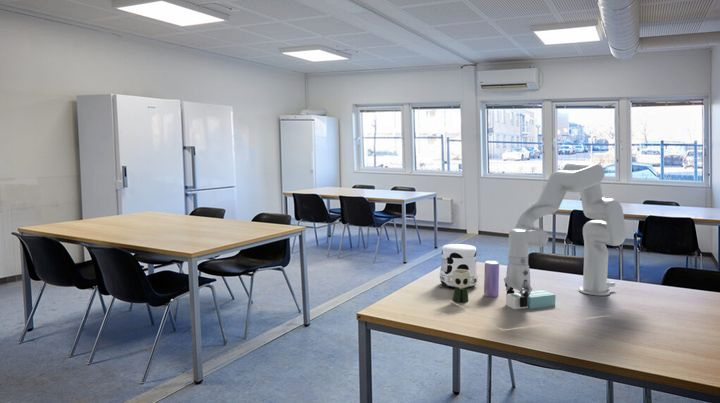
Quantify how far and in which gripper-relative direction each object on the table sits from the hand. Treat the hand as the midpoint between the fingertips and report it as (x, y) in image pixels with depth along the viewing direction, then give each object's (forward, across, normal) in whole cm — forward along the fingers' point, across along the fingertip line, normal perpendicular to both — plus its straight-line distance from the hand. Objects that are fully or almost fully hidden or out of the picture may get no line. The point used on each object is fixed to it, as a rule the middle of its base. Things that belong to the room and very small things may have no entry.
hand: (516, 303), depth 213 cm
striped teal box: (+1, 0, -9) cm, 9 cm away
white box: (+1, 0, 0) cm, 1 cm away
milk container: (+2, +37, +5) cm, 37 cm away
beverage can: (+2, +17, +1) cm, 17 cm away
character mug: (+2, +15, +17) cm, 23 cm away
